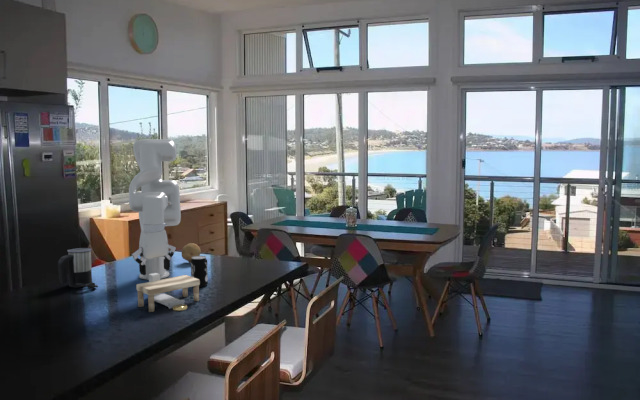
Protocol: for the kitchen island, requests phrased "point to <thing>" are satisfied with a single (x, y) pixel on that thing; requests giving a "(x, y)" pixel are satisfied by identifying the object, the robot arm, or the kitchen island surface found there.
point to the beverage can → (199, 269)
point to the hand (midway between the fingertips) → (155, 271)
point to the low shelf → (166, 288)
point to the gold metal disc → (179, 307)
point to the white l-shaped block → (164, 298)
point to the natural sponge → (190, 251)
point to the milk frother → (77, 268)
